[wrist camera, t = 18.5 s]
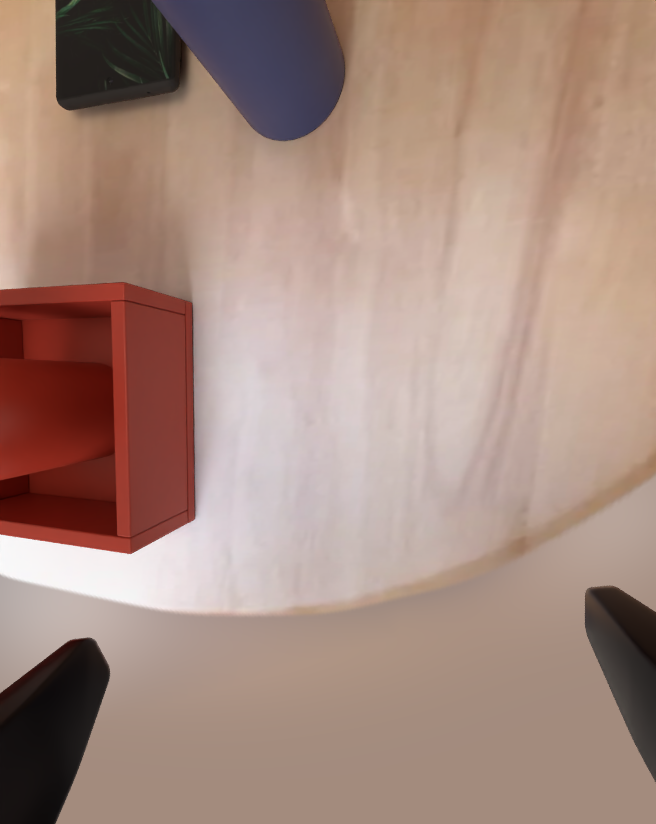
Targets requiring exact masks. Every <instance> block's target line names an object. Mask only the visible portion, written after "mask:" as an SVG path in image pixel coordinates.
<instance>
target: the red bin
mask: <svg viewBox="0 0 656 824" xmlns="http://www.w3.org/2000/svg"><path fill="white" fill-rule="evenodd" d="M0 358H11V359H32V360H52V361H73V362H93V363H101V364H104V365H107V366H109V367H111V368H112V369H113V398H114V435H115V453H114V454H112V455H110V456H107V457H103V458H99V459H94V460H90V461H85V462H81V463H76V464H72V465H67V466H63V467H58V468H54V469H49V470H45V471H40V472H36V473H31V474H27V475H22V476H18V477H13V478H9V479H4V480H0V534H1V535H7V536H14V537H21V538H27V539H34V540H40V541H47V542H54V543H60V544H67V545H74V546H80V547H87V548H94V549H100V550H107V551H114V552H120V553H127V554H132V553H134V552H135V551H137V550H139V549H141V548H143V547H145V546H147V545H148V544H150V543H152V542H154V541H156V540H158V539H159V538H161V537H163V536H165V535H167V534H169V533H171V532H172V531H174V530H176V529H178V528H180V527H182V526H183V525H185V524H187V523H189V522H191V521H193V520H194V519H195V510H194V430H193V351H192V303H191V302H188V301H185V300H182V299H179V298H175V297H172V296H169V295H165V294H162V293H158V292H155V291H152V290H148V289H145V288H142V287H138V286H135V285H132V284H128V283H125V282H119V283H102V284H86V285H70V286H53V287H37V288H21V289H4V290H0Z"/></svg>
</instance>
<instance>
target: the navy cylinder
mask: <svg viewBox="0 0 656 824" xmlns="http://www.w3.org/2000/svg"><path fill="white" fill-rule="evenodd" d="M152 2H153V3H154V4H155V5H156V7H157V8H158V9H159V11H160V12H161V13H162V14H163V16H164V17H165V18H166V19H167V21H168V22H169V23H170V24H171V26H172V27H173V28H174V29H175V31H176V32H177V33H178V35H179V36H180V37H181V38H182V40H183V41H184V42H185V43H186V45H187V46H188V47H189V48H190V50H191V51H192V52H193V54H194V55H195V56H196V57H197V59H198V60H199V61H200V62H201V64H202V65H203V66H204V67H205V69H206V70H207V71H208V72H209V74H210V75H211V76H212V78H213V79H214V80H215V81H216V83H217V84H218V85H219V86H220V88H221V89H222V90H223V91H224V93H225V94H226V95H227V96H228V98H229V99H230V100H231V102H232V103H233V104H234V105H235V107H236V108H237V109H238V110H239V112H240V113H241V114H242V115H243V117H244V118H245V119H246V120H247V122H248V123H249V124H250V126H251V127H252V128H253V129H254V130H255V131H257V132H258V133H259V134H261V135H263V136H265V137H267V138H270V139H273V140H280V141H286V140H293V139H297V138H300V137H302V136H304V135H307V134H308V133H310V132H312V131H313V130H314V129H316V128H317V127H318V126H320V125H321V124H322V123H323V122H324V121H325V119H326V118H327V117H328V116H329V115H330V113H331V112H332V110H333V108H334V107H335V105H336V103H337V101H338V99H339V96H340V93H341V90H342V86H343V82H344V75H345V65H344V57H343V53H342V49H341V46H340V43H339V40H338V37H337V34H336V31H335V28H334V25H333V22H332V19H331V16H330V13H329V10H328V7H327V4H326V1H325V0H152Z"/></svg>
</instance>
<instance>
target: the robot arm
mask: <svg viewBox="0 0 656 824" xmlns="http://www.w3.org/2000/svg"><path fill="white" fill-rule="evenodd" d="M585 628H586V632H587V636H588V639H589V641H590V643H591V646H592V648H593V650H594V652H595V655H596V657H597V659H598V662H599V664H600V666H601V668H602V671H603V673H604V675H605V678H606V680H607V682H608V684H609V687H610V689H611V691H612V693H613V696H614V698H615V700H616V703H617V705H618V707H619V709H620V712H621V714H622V716H623V718H624V721H625V723H626V725H627V727H628V730H629V732H630V734H631V736H632V738H633V740H634V742H635V745H636V746H637V748H638V750H639V752H640V754H641V756H642V758H643V760H644V762H645V764H646V765H647V767H648V769H649V771H650V772H651V774H652V776H653V778H654V780H655V782H656V612H655V611H653V610H652V609H650V608H648V607H647V606H645V605H644V604H642V603H641V602H639V601H638V600H636V599H634V598H633V597H631V596H630V595H628V594H627V593H625V592H624V591H622V590H620V589H619V588H617V587H614V586H601V587H591V588H588V589H587V591H586V593H585ZM109 677H110V669H109V665H108V663H107V661H106V659H105V657H104V655H103V654H102V652H101V650H100V648H99V646H98V644H97V642H96V641H95V640H94V639H92V638H80V639H73V640H70V641H68V642H67V643H65V644H64V645H63V646H61V647H60V648H59V649H57V650H56V651H55V652H53V653H52V654H51V655H50V656H48V657H47V658H46V659H44V660H43V661H42V662H41V663H39V664H38V665H37V666H35V667H34V668H33V669H31V670H30V671H29V672H27V673H26V674H25V675H24V676H22V677H21V678H20V679H18V680H17V681H16V682H14V683H13V684H12V685H11V686H9V687H8V688H7V689H5V690H4V691H3V692H1V693H0V824H55V823H56V821H57V819H58V816H59V814H60V812H61V810H62V807H63V805H64V803H65V800H66V798H67V796H68V793H69V791H70V789H71V786H72V784H73V781H74V779H75V776H76V774H77V771H78V769H79V766H80V763H81V760H82V757H83V755H84V752H85V749H86V746H87V743H88V740H89V737H90V734H91V731H92V729H93V726H94V723H95V720H96V717H97V714H98V711H99V708H100V705H101V702H102V699H103V697H104V694H105V691H106V688H107V685H108V682H109Z"/></svg>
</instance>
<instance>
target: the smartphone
mask: <svg viewBox="0 0 656 824" xmlns="http://www.w3.org/2000/svg"><path fill="white" fill-rule="evenodd" d="M180 62H181V37H180V36H179V35H178V33H177V32H176V31H175V29H174V28H173V27H172V26H171V24H170V23H169V22H168V21H167V19H166V18H165V17H164V16H163V14H162V13H161V12H160V11H159V9H158V8H157V7H156V5H155V4H154V3H153V2H152V0H56V98H57V102H58V103H59V105H60V106H62V107H63V108H64V109H66V110H76V109H82V108H87V107H93V106H99V105H104V104H110V103H115V102H121V101H126V100H132V99H137V98H143V97H149V96H154V95H160V94H165V93H171V92H174V91H176V90H177V89H178V87H179V83H180Z"/></svg>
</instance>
